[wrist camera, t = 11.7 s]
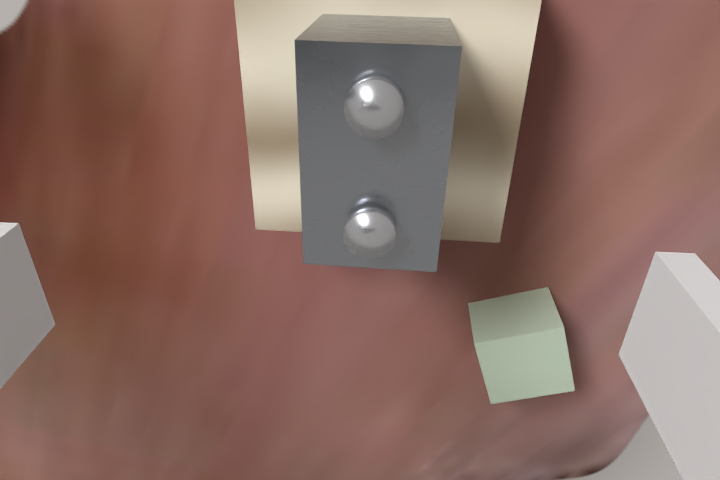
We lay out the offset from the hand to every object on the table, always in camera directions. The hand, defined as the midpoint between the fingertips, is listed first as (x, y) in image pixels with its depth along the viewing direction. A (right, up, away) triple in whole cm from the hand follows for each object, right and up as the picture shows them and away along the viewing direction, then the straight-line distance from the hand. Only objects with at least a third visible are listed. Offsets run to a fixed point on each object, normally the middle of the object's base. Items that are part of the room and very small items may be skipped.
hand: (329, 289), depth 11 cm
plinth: (+2, +9, +16) cm, 18 cm away
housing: (+2, +7, +12) cm, 13 cm away
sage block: (+11, -4, +23) cm, 26 cm away
